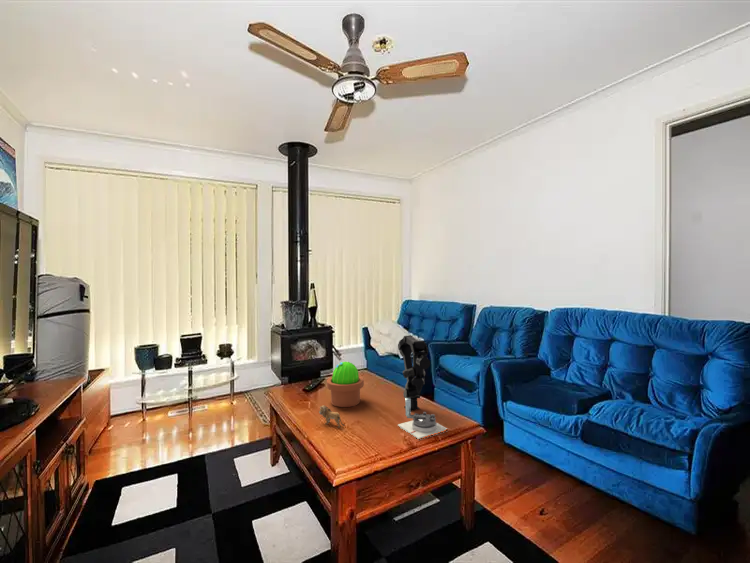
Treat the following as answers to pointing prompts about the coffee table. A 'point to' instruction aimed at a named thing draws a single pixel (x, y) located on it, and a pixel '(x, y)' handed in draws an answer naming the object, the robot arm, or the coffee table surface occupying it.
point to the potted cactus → (345, 385)
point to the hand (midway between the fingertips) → (418, 393)
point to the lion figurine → (330, 415)
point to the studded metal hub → (419, 416)
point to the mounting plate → (418, 434)
